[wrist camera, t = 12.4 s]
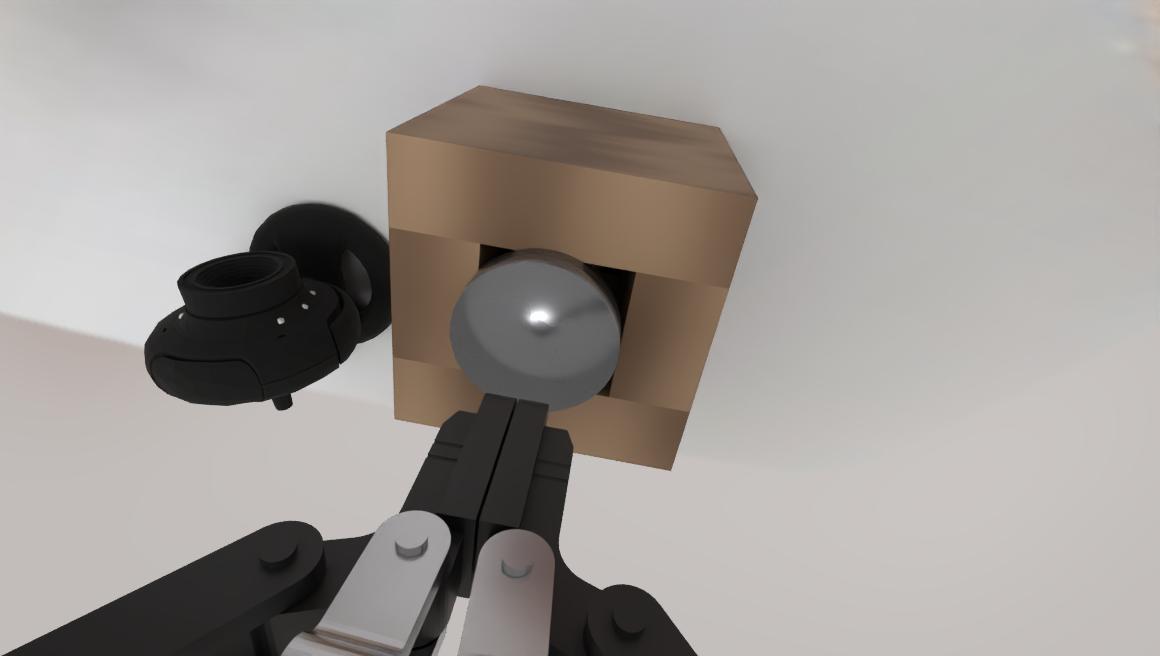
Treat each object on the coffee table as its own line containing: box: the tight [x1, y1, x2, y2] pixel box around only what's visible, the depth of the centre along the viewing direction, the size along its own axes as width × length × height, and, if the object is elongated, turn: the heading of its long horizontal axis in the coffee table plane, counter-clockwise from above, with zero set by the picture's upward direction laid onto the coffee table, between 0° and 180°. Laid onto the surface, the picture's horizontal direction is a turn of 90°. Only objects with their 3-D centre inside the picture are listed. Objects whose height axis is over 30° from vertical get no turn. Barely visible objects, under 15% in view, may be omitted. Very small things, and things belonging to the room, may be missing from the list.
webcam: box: [144, 204, 392, 410], centre depth 24 cm, size 8×8×10 cm
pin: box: [450, 248, 621, 412], centre depth 21 cm, size 5×5×10 cm
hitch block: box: [386, 86, 758, 471], centre depth 21 cm, size 10×10×10 cm
